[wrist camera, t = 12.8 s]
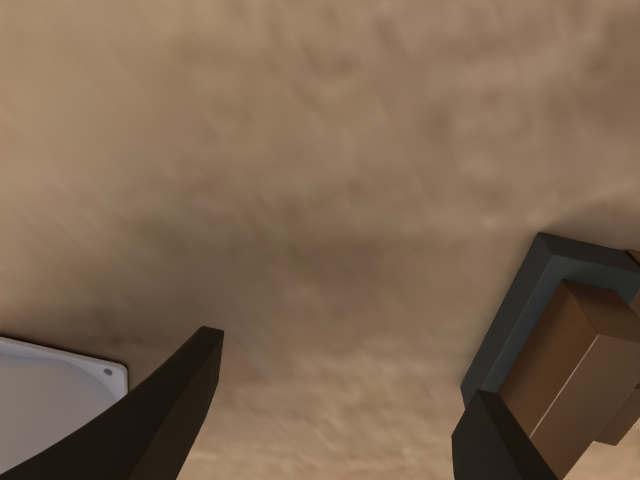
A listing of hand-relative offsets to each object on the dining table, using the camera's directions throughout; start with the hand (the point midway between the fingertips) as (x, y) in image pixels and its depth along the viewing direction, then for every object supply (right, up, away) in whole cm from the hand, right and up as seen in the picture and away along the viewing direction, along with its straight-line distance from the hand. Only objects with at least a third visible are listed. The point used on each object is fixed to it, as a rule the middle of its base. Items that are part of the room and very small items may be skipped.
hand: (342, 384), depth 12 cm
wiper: (+10, 0, +10) cm, 14 cm away
